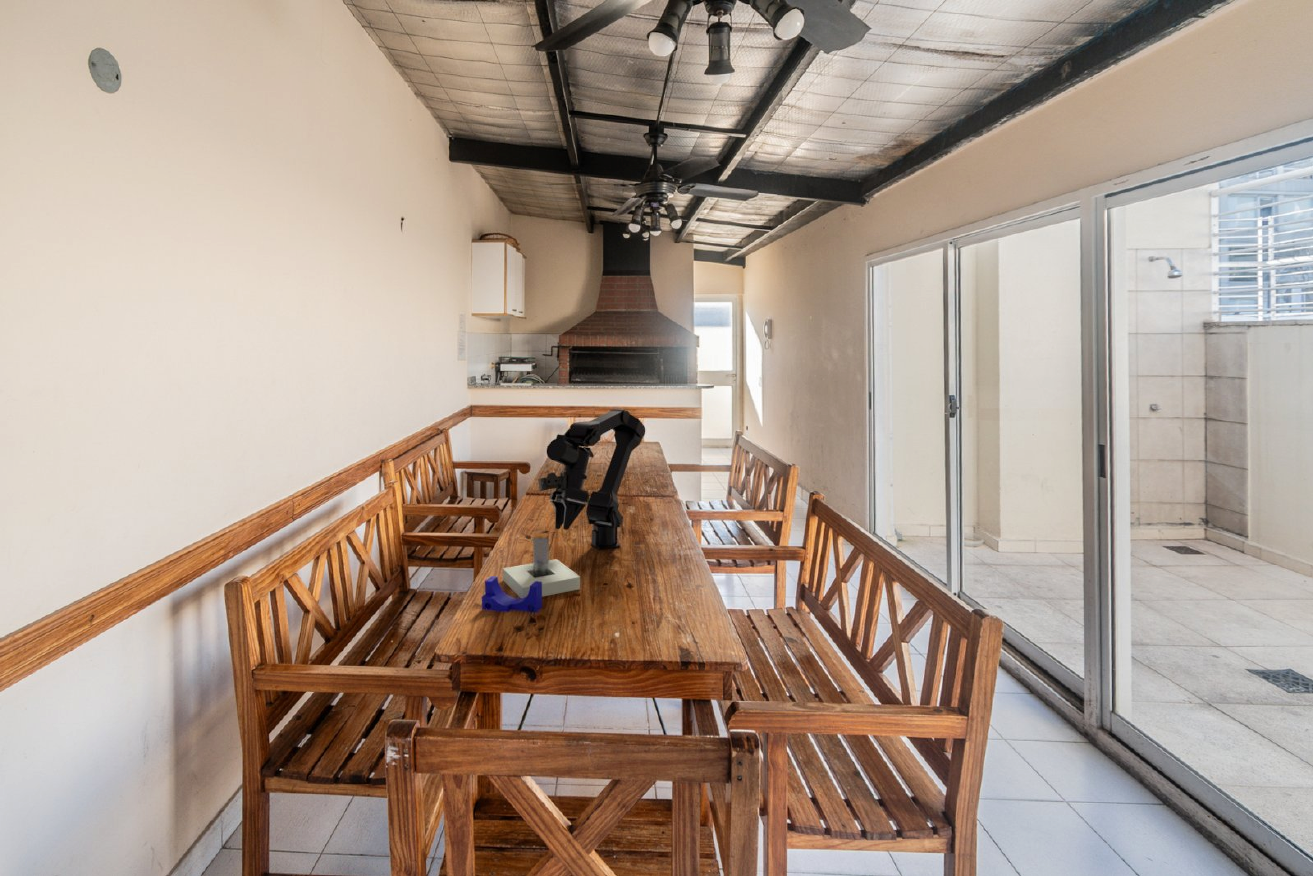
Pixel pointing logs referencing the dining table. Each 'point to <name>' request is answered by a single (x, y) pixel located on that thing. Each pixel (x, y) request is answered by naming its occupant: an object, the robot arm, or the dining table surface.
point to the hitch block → (541, 579)
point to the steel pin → (540, 553)
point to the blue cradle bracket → (511, 598)
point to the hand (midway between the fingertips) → (561, 529)
